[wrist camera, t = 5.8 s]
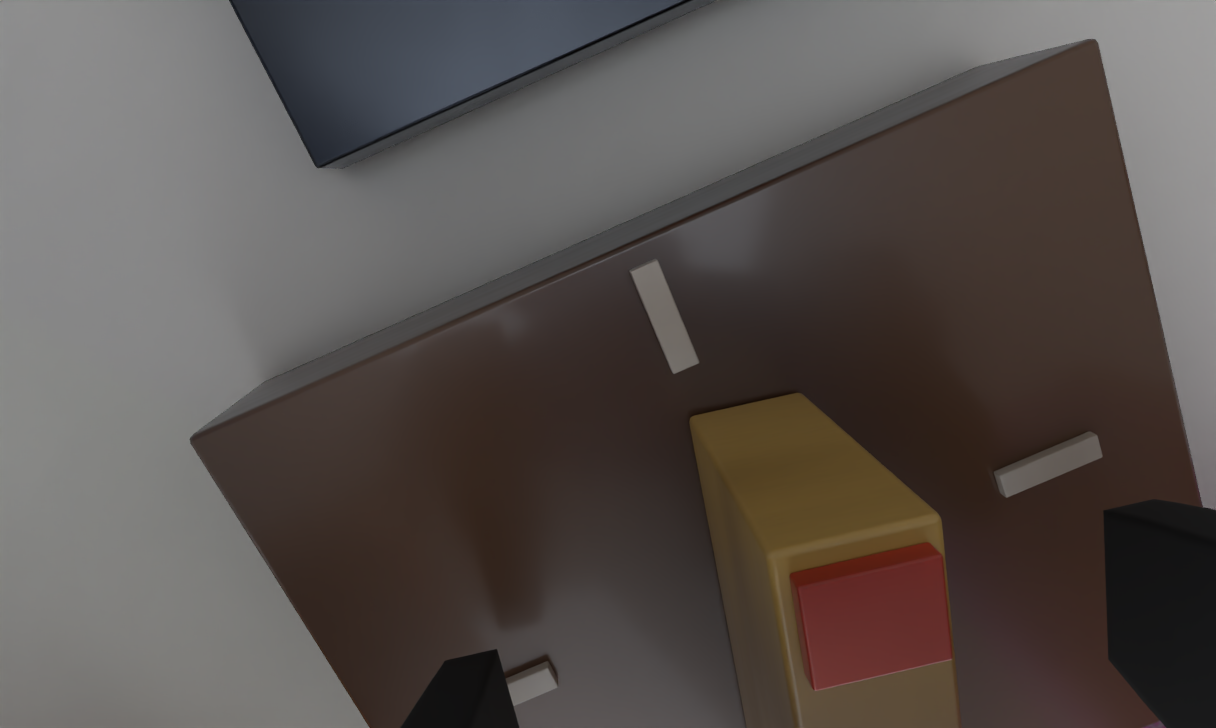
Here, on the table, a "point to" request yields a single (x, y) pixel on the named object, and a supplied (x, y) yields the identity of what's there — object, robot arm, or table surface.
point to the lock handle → (824, 574)
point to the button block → (422, 59)
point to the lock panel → (736, 375)
